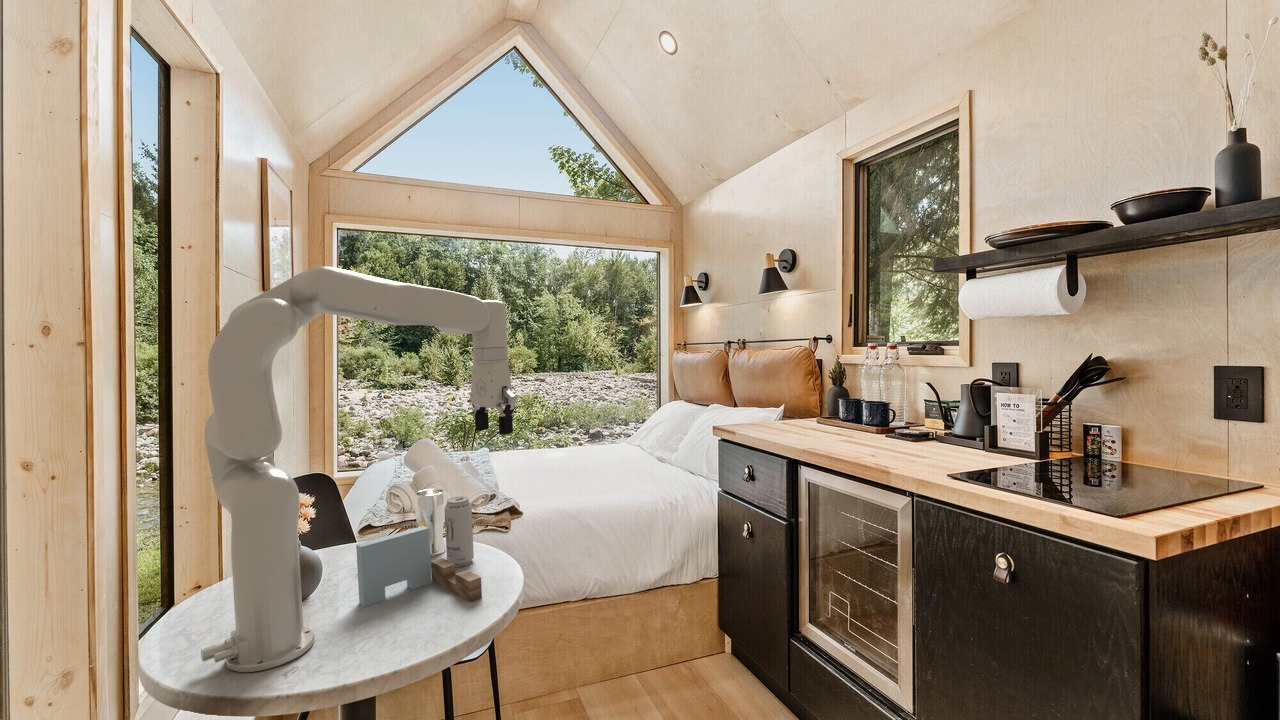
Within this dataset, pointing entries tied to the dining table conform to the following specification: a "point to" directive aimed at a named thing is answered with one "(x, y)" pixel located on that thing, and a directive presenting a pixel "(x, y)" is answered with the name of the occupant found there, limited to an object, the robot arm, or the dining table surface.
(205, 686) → the dining table surface
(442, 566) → the brown wooden bar
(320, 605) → the dining table surface
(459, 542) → the energy drink can
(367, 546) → the blue board
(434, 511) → the shiny metal tumbler
